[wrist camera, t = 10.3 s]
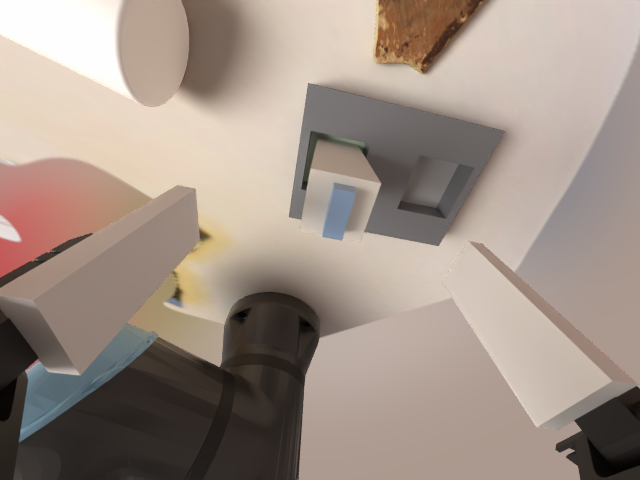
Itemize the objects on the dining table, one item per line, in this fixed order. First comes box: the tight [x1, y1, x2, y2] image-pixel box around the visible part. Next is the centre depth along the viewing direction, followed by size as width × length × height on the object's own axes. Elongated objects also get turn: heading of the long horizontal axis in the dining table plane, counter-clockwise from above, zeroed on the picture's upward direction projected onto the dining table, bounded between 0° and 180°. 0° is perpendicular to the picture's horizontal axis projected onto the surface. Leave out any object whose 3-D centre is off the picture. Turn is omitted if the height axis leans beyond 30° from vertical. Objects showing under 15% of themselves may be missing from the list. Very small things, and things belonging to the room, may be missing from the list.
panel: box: [289, 83, 505, 246], centre depth 23 cm, size 12×17×3 cm
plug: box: [299, 136, 381, 242], centre depth 18 cm, size 4×4×13 cm
